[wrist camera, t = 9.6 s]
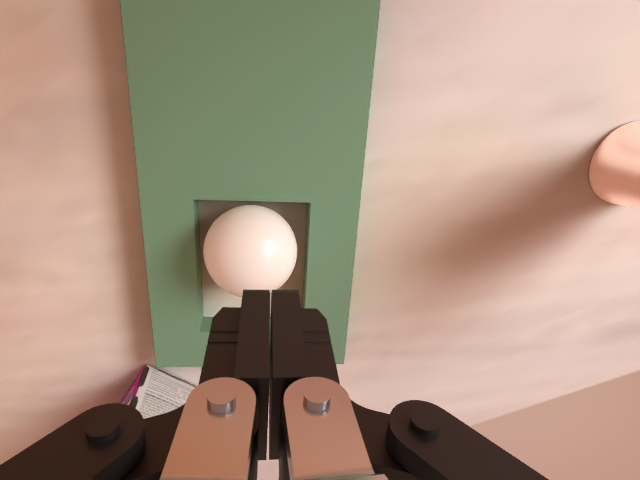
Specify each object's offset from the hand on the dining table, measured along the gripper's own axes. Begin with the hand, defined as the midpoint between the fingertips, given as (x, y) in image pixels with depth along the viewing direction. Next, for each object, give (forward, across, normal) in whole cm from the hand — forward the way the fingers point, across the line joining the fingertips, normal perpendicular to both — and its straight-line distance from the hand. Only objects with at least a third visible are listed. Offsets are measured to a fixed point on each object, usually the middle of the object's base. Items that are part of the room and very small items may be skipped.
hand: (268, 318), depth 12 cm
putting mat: (+19, +1, +3) cm, 19 cm away
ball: (+16, +1, +6) cm, 17 cm away
